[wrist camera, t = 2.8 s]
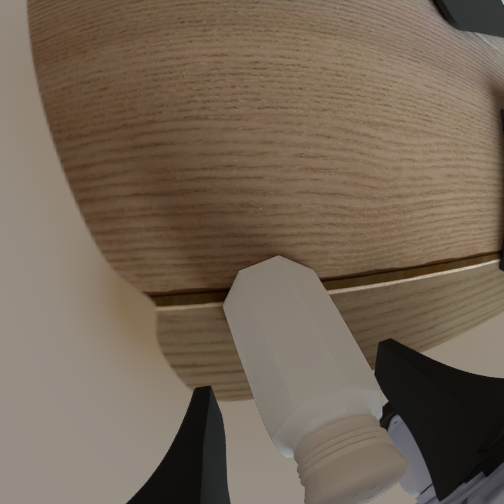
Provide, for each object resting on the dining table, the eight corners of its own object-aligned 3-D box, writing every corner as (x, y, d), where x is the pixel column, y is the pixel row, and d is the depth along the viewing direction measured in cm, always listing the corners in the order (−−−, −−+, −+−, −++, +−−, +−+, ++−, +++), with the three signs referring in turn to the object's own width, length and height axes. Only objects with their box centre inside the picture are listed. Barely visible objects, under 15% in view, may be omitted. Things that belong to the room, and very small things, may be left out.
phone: (521, 41, 10) (458, 28, 10) (516, 41, 11) (450, 30, 11) (490, -18, 8) (407, -49, 7) (485, -16, 8) (401, -45, 8)
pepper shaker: (339, 299, 15) (463, 447, 5) (268, 359, 16) (325, 531, 5) (279, 232, 14) (435, 399, 3) (200, 304, 14) (202, 523, 4)
